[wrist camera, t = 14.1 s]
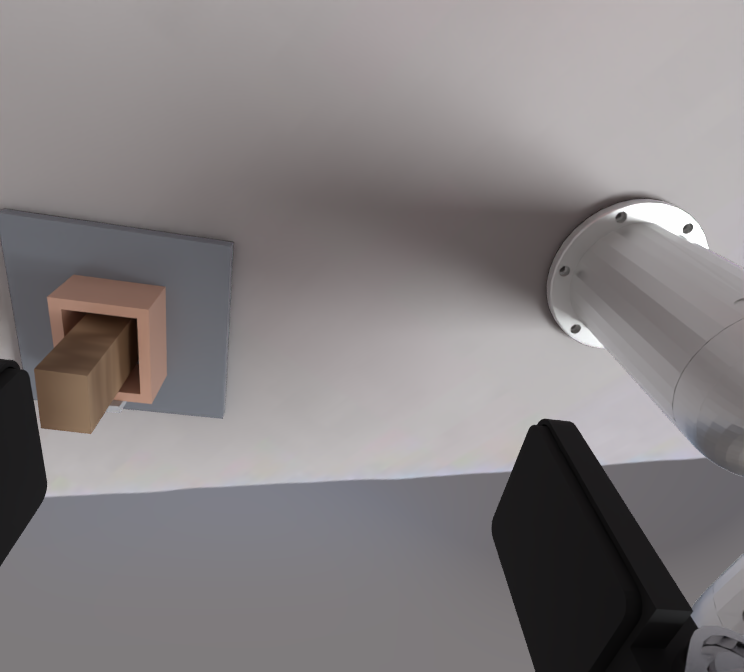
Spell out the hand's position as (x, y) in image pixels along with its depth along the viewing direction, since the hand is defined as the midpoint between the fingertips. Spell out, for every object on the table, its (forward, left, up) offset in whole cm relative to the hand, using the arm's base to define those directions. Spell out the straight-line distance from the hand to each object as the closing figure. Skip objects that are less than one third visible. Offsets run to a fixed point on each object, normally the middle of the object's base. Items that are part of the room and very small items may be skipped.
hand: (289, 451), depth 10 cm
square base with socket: (+14, +15, -30) cm, 37 cm away
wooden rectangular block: (+14, +15, -29) cm, 36 cm away
